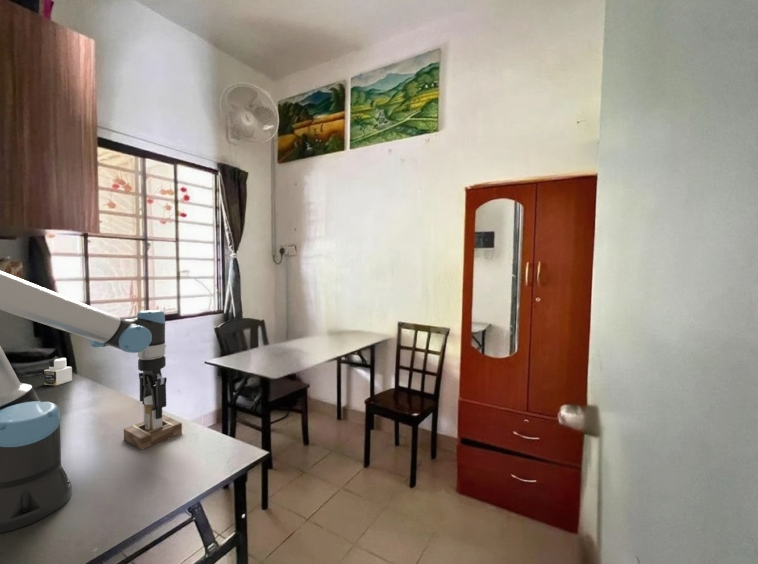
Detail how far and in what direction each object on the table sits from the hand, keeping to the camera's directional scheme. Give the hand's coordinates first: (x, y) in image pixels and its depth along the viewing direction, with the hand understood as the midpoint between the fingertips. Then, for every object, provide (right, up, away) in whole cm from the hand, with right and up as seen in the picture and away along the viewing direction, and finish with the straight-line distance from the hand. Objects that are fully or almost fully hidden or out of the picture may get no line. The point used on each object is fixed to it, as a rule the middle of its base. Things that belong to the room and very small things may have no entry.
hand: (153, 425), depth 108 cm
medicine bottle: (-82, -2, +50) cm, 96 cm away
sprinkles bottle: (0, -4, 0) cm, 4 cm away
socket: (0, -4, 0) cm, 4 cm away
